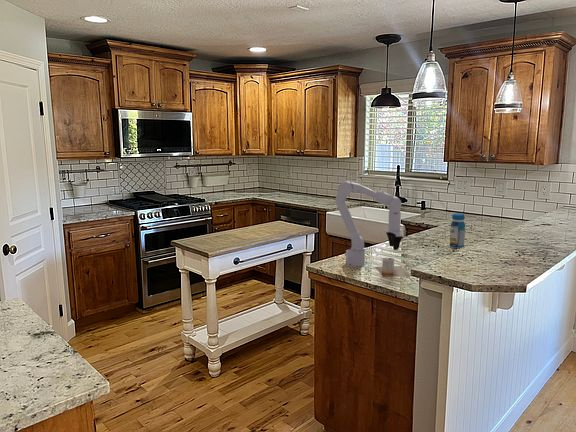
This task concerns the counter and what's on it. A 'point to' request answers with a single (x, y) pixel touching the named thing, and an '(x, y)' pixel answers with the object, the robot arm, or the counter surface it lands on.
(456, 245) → the beverage bottle
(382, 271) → the jar
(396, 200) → the robot arm
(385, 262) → the cap
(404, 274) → the board
